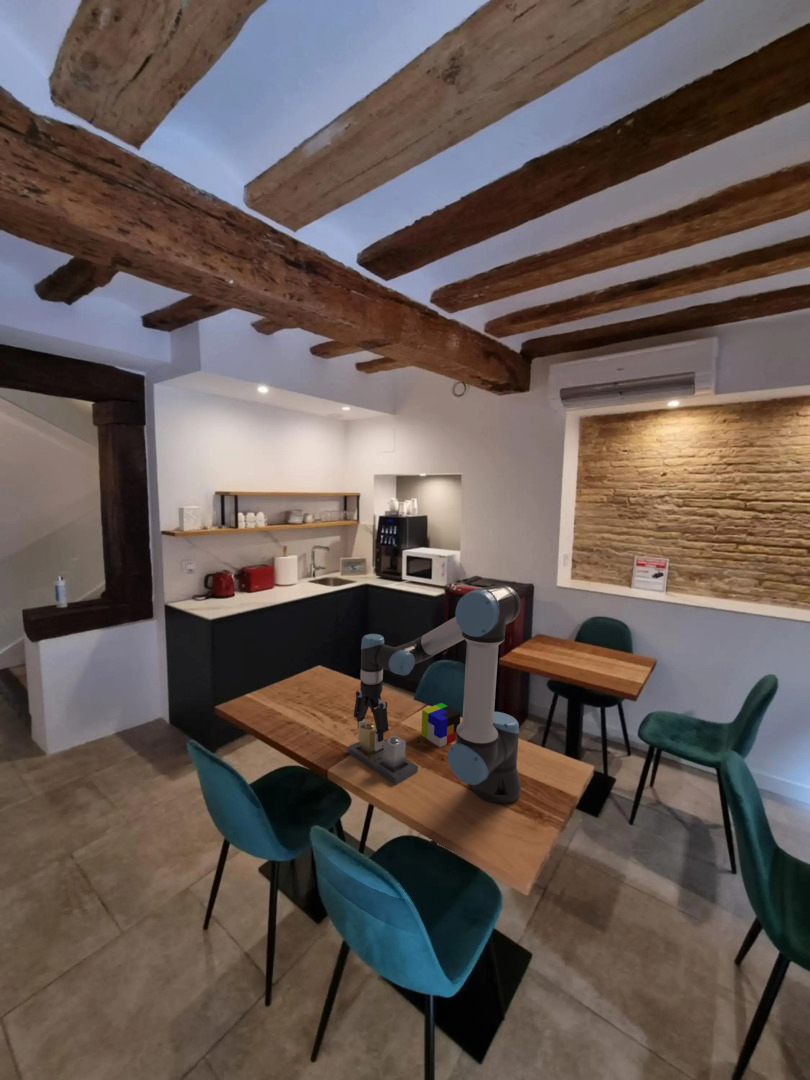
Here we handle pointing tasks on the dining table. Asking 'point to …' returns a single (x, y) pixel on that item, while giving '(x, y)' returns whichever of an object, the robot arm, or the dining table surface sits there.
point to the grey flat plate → (377, 764)
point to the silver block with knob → (394, 754)
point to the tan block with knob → (368, 739)
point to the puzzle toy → (440, 724)
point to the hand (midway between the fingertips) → (369, 743)
